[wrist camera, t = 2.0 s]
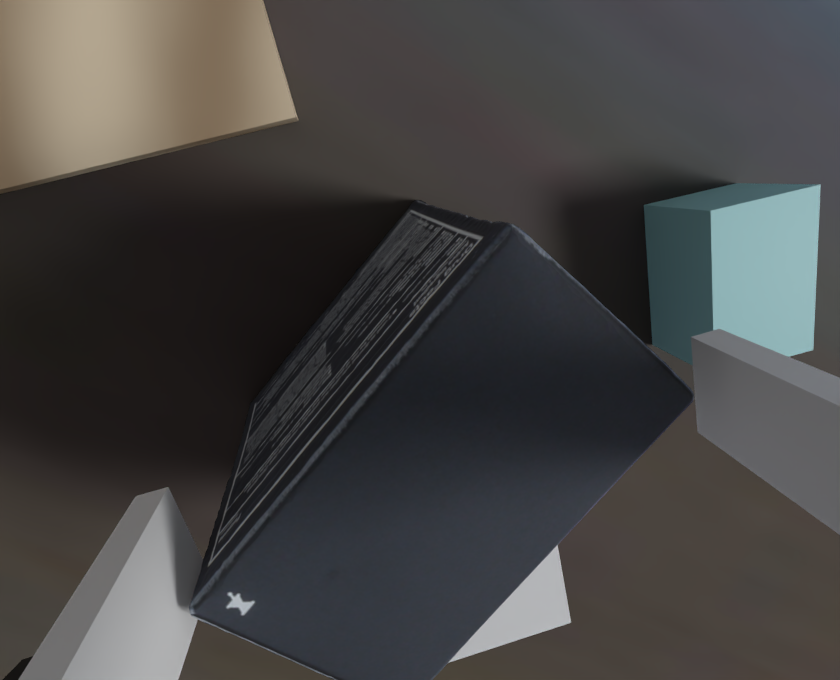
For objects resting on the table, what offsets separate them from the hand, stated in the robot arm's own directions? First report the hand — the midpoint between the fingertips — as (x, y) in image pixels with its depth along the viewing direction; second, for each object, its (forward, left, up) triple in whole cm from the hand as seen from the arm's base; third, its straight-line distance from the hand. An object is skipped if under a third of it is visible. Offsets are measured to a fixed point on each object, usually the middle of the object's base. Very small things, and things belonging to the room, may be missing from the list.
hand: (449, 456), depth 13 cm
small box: (0, 0, -9) cm, 9 cm away
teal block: (+13, 0, -9) cm, 15 cm away
